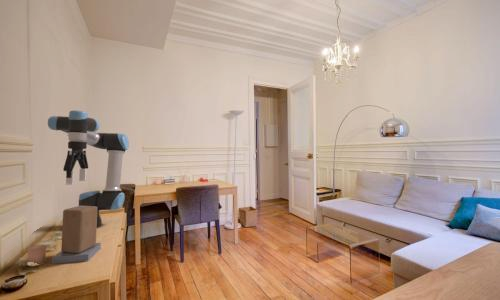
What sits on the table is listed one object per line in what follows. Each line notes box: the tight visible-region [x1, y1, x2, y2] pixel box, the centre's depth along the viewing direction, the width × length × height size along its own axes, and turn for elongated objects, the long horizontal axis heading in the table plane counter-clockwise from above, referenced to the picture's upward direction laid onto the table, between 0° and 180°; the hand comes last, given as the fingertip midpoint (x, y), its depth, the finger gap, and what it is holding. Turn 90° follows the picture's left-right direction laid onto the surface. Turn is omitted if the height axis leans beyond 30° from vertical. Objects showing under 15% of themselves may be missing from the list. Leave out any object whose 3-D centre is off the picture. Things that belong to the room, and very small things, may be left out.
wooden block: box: [60, 205, 98, 253], centre depth 108 cm, size 10×10×20 cm
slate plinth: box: [51, 242, 102, 265], centre depth 108 cm, size 14×14×3 cm
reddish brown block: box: [26, 244, 47, 266], centre depth 99 cm, size 6×6×7 cm
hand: (76, 182), depth 114 cm, fingers open, 13 cm apart
